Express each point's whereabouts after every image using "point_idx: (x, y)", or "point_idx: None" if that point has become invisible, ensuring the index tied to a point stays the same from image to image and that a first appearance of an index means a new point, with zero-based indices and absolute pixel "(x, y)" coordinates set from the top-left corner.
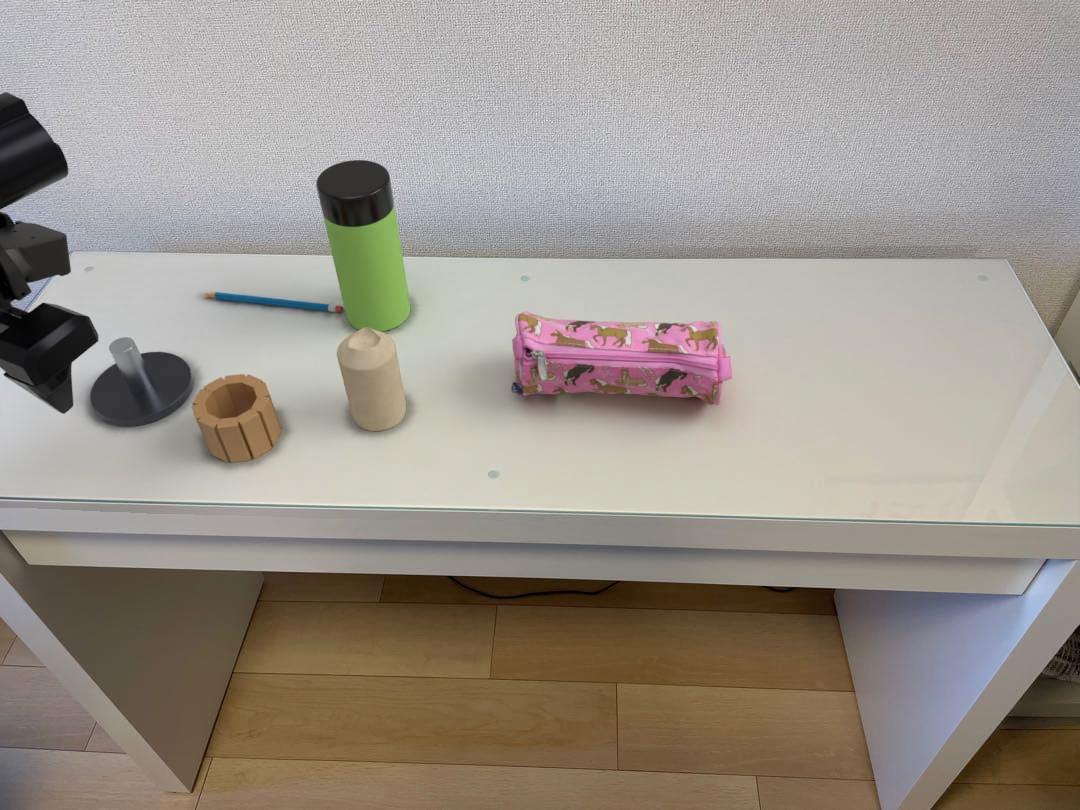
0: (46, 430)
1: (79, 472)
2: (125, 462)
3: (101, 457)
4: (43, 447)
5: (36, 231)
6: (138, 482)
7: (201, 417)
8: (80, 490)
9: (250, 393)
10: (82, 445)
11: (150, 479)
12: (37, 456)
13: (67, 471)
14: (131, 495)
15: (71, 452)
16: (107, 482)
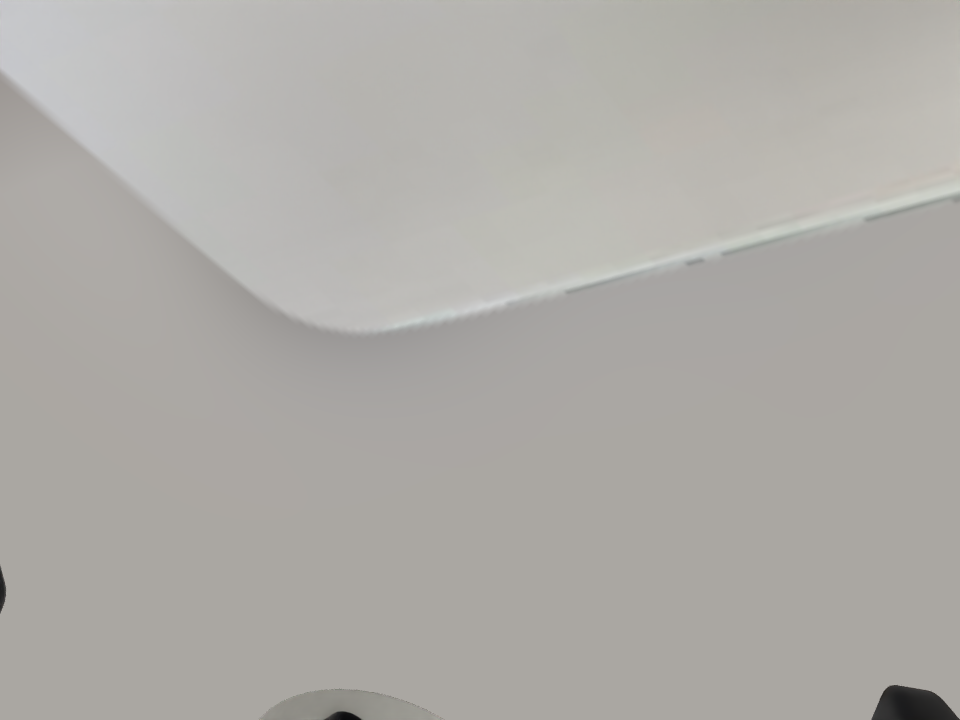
0: (142, 7)
1: (481, 170)
2: (651, 45)
3: (514, 59)
4: (220, 101)
5: None
6: (793, 131)
7: None
8: (557, 249)
9: None
10: (372, 26)
11: (844, 96)
12: (241, 154)
13: (427, 182)
14: (803, 205)
15: (358, 83)
16: (644, 177)
